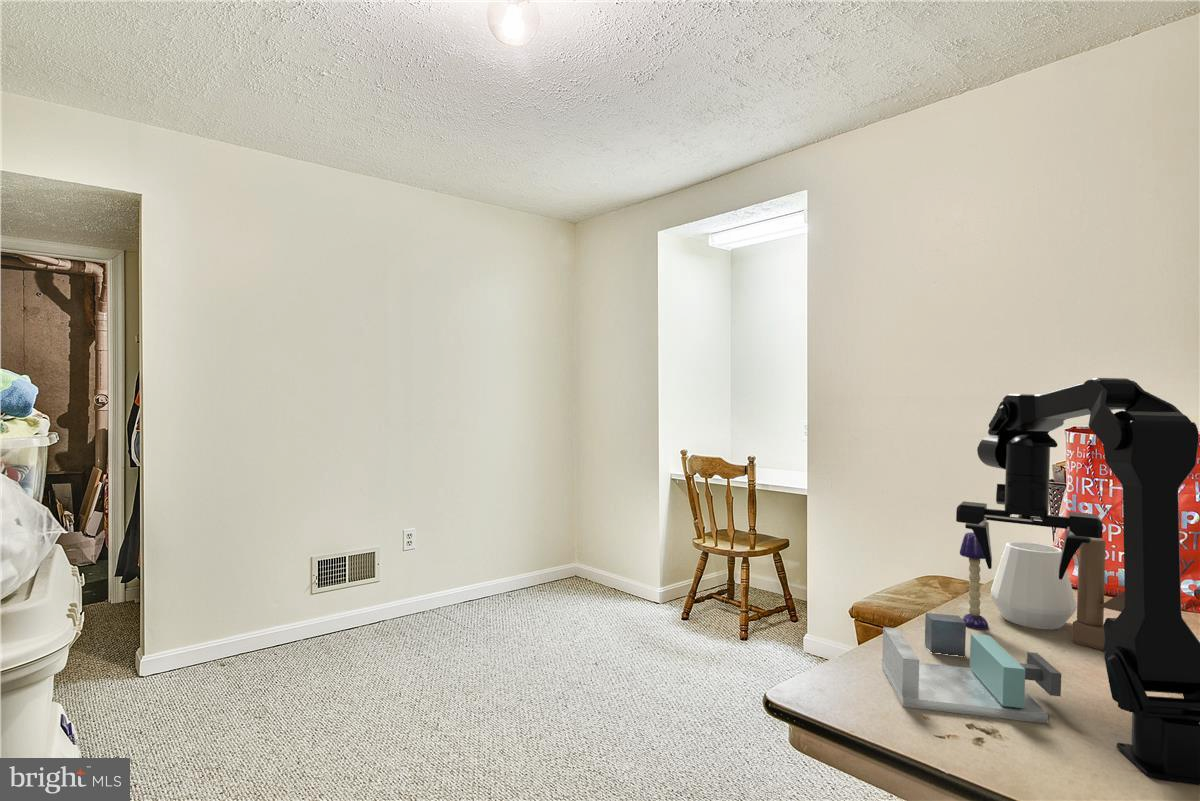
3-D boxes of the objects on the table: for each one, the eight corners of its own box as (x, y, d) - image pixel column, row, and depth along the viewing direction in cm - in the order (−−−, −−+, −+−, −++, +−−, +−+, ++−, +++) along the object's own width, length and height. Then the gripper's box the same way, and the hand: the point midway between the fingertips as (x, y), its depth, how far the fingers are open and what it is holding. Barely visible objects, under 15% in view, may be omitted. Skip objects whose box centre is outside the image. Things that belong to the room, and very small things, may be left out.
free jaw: (1070, 713, 81) (1071, 673, 81) (1002, 705, 83) (1003, 667, 83) (1028, 673, 93) (1029, 639, 93) (969, 667, 94) (970, 633, 94)
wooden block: (1152, 665, 101) (1155, 550, 101) (1071, 642, 109) (1074, 537, 109) (1159, 660, 103) (1162, 547, 103) (1079, 638, 112) (1082, 535, 111)
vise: (1047, 723, 81) (1049, 674, 81) (902, 706, 85) (904, 659, 85) (1005, 679, 94) (1007, 637, 94) (881, 666, 97) (882, 625, 97)
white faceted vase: (982, 620, 120) (984, 545, 120) (997, 604, 130) (999, 535, 130) (1071, 639, 111) (1073, 559, 111) (1080, 621, 121) (1082, 547, 121)
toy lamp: (978, 631, 114) (981, 537, 114) (952, 623, 118) (954, 532, 118) (992, 626, 116) (995, 535, 116) (966, 619, 120) (969, 530, 120)
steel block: (965, 657, 102) (965, 622, 102) (930, 654, 103) (931, 619, 103) (957, 649, 105) (958, 615, 105) (924, 645, 106) (925, 612, 106)
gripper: (1098, 475, 102) (1095, 573, 102) (964, 465, 113) (961, 554, 113) (1104, 481, 93) (1101, 589, 93) (957, 470, 103) (954, 567, 103)
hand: (1024, 573), depth 101 cm, fingers open, 9 cm apart
